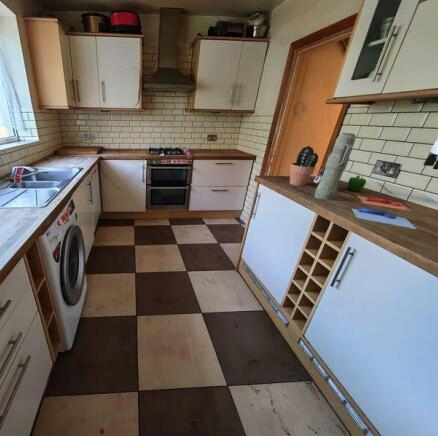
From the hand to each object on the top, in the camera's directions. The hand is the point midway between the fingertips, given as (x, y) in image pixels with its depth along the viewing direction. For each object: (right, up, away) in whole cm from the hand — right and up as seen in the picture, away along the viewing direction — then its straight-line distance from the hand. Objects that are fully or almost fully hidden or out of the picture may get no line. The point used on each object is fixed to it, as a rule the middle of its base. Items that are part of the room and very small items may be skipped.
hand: (432, 167), depth 106 cm
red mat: (-4, -16, +18) cm, 24 cm away
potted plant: (-32, -1, +48) cm, 58 cm away
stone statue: (-33, -13, +24) cm, 43 cm away
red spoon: (-4, -15, +18) cm, 24 cm away
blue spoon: (-23, -22, +3) cm, 32 cm away
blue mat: (-25, -24, 0) cm, 34 cm away
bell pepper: (-2, -6, +39) cm, 39 cm away
